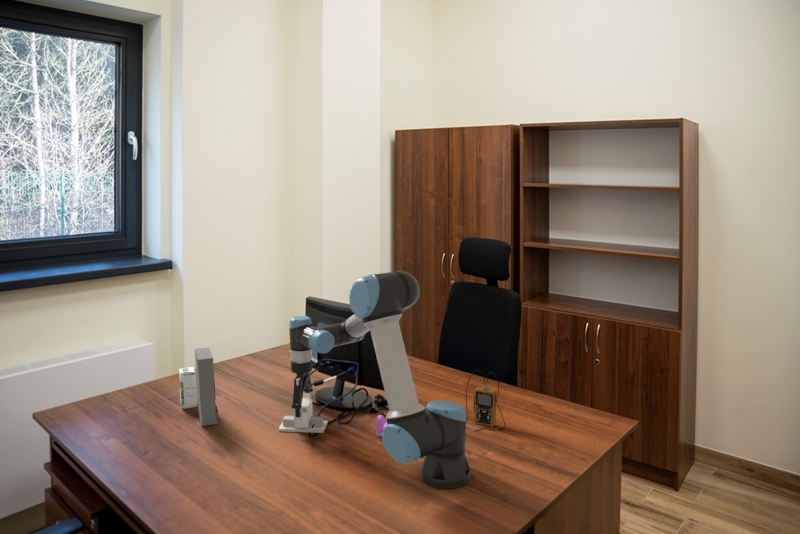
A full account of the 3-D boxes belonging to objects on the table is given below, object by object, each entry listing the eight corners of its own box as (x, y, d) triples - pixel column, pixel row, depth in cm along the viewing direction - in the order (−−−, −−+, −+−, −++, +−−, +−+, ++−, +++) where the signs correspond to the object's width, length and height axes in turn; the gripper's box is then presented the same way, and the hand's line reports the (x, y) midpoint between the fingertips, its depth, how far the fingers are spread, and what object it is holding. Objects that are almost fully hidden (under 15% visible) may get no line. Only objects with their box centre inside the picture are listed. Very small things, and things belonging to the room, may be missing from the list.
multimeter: (456, 429, 231) (457, 375, 228) (467, 419, 240) (468, 367, 236) (496, 437, 225) (497, 382, 221) (505, 426, 233) (507, 373, 230)
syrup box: (180, 404, 254) (177, 368, 252) (195, 401, 257) (193, 366, 254) (181, 409, 249) (179, 373, 246) (197, 406, 252) (195, 370, 249)
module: (312, 419, 236) (312, 398, 235) (308, 428, 229) (307, 406, 227) (299, 418, 236) (298, 398, 235) (294, 427, 229) (293, 406, 228)
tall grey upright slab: (219, 424, 236) (215, 357, 231) (201, 426, 233) (197, 360, 229) (214, 410, 248) (211, 347, 244) (198, 412, 246) (194, 348, 242)
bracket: (391, 438, 224) (391, 419, 223) (376, 436, 226) (376, 417, 225) (403, 423, 236) (403, 405, 235) (389, 421, 238) (389, 403, 237)
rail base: (327, 423, 236) (327, 414, 236) (323, 432, 228) (323, 423, 228) (284, 422, 237) (283, 413, 237) (278, 431, 230) (278, 422, 229)
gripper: (299, 349, 241) (300, 403, 245) (281, 371, 216) (283, 431, 220) (319, 349, 240) (320, 404, 244) (304, 372, 216) (305, 432, 220)
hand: (303, 417), depth 232 cm, fingers open, 13 cm apart
